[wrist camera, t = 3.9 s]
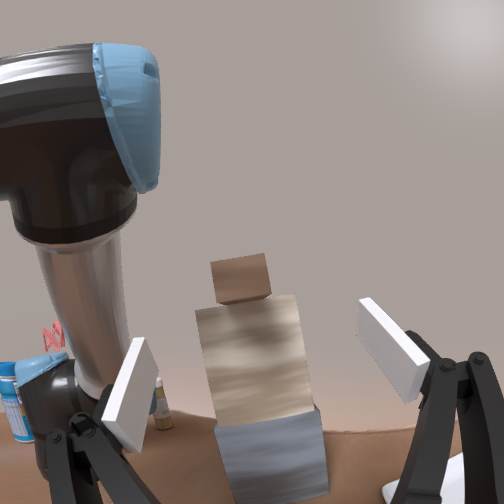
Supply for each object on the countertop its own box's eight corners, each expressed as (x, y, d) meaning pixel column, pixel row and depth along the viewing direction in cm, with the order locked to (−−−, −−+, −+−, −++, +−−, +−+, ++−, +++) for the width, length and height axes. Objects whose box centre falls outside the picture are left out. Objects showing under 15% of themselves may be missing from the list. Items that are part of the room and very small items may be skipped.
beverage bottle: (14, 444, 30) (-10, 364, 34) (14, 434, 35) (-6, 361, 39) (43, 442, 36) (20, 364, 40) (40, 432, 42) (21, 360, 46)
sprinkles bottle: (169, 422, 59) (157, 376, 62) (176, 427, 56) (164, 378, 58) (153, 426, 56) (141, 379, 59) (160, 431, 53) (147, 382, 55)
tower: (329, 493, 23) (299, 291, 29) (238, 510, 23) (189, 310, 28) (303, 439, 42) (279, 299, 48) (240, 450, 41) (211, 311, 47)
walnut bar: (271, 293, 20) (264, 253, 20) (216, 302, 19) (210, 262, 20) (256, 303, 47) (253, 286, 48) (233, 307, 47) (230, 290, 47)
